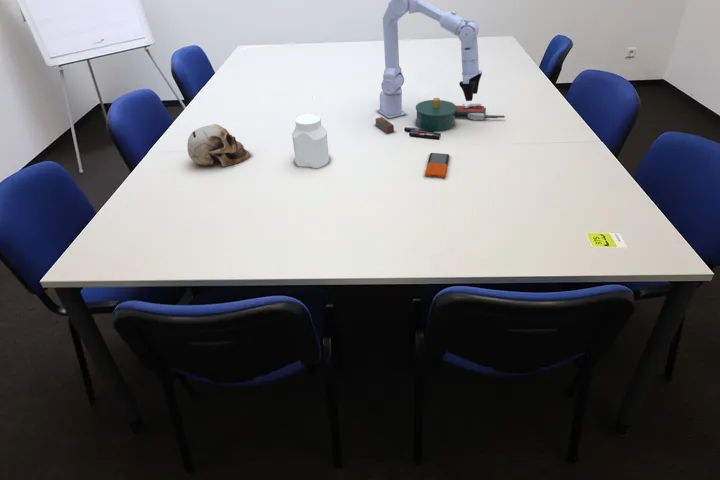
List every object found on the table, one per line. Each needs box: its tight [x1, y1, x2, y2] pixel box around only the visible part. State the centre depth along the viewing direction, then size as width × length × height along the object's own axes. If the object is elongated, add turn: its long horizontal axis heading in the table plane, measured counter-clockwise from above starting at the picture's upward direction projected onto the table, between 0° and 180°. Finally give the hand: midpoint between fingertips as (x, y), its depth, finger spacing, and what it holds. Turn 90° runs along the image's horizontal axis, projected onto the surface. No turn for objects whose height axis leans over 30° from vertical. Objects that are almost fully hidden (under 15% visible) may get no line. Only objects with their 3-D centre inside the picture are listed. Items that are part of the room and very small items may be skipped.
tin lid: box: [415, 97, 457, 117], centre depth 178 cm, size 15×15×4 cm
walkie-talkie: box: [455, 103, 506, 121], centre depth 185 cm, size 9×4×20 cm
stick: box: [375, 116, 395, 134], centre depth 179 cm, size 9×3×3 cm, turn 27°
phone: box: [424, 152, 450, 179], centre depth 154 cm, size 6×1×15 cm
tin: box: [415, 111, 456, 132], centre depth 180 cm, size 14×14×6 cm
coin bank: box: [186, 123, 251, 168], centre depth 160 cm, size 16×17×13 cm
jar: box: [291, 113, 330, 169], centre depth 156 cm, size 12×10×15 cm
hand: (471, 97), depth 175 cm, fingers open, 7 cm apart
